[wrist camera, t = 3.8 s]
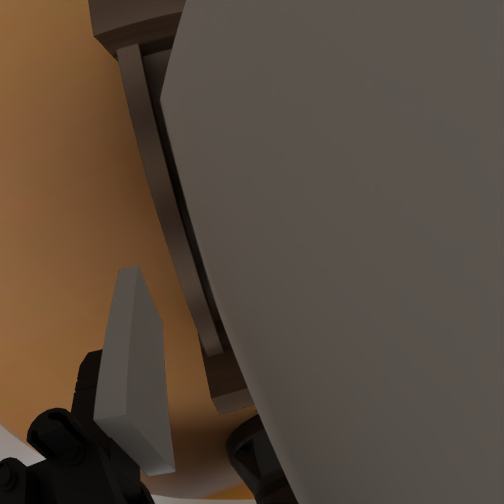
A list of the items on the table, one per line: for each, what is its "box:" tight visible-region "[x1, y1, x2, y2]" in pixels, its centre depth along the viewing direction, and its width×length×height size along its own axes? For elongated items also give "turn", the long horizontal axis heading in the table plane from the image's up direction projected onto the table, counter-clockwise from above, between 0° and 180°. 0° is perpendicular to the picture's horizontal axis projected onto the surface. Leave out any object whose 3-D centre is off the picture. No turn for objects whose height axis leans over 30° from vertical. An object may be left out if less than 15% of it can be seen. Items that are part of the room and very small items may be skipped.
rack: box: [88, 0, 255, 415], centre depth 19 cm, size 25×11×10 cm, turn 11°
